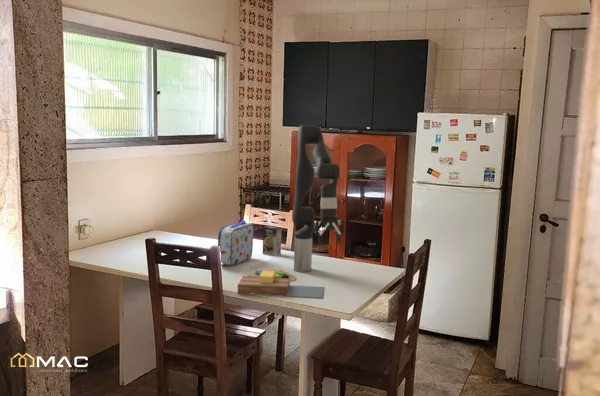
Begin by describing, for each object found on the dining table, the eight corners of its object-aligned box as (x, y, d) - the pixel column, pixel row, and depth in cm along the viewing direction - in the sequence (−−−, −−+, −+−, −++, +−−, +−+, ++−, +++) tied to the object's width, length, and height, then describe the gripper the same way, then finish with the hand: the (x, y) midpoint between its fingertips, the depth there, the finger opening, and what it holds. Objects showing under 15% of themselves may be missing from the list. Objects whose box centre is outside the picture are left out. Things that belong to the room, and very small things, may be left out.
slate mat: (289, 286, 260) (289, 285, 260) (323, 287, 259) (323, 286, 259) (286, 296, 244) (286, 295, 244) (322, 298, 243) (322, 297, 243)
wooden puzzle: (297, 281, 270) (297, 274, 269) (263, 286, 260) (263, 279, 259) (279, 272, 284) (279, 266, 284) (246, 277, 274) (246, 270, 274)
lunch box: (239, 255, 316) (240, 217, 313) (255, 257, 312) (256, 219, 309) (214, 266, 290) (215, 225, 287) (232, 269, 287) (232, 227, 284)
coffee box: (262, 254, 320) (262, 226, 318) (268, 252, 326) (269, 225, 324) (275, 256, 316) (275, 228, 313) (281, 254, 321) (282, 227, 319)
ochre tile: (262, 277, 259) (262, 270, 259) (274, 277, 259) (275, 271, 258) (259, 282, 250) (259, 276, 250) (272, 283, 250) (272, 276, 250)
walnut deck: (243, 284, 260) (243, 276, 260) (289, 286, 259) (289, 278, 258) (237, 293, 247) (237, 284, 246) (286, 295, 245) (286, 287, 245)
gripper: (339, 206, 257) (339, 241, 257) (311, 207, 252) (311, 243, 252) (346, 207, 250) (347, 243, 250) (317, 208, 245) (318, 244, 245)
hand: (329, 243), depth 251 cm, fingers open, 8 cm apart
